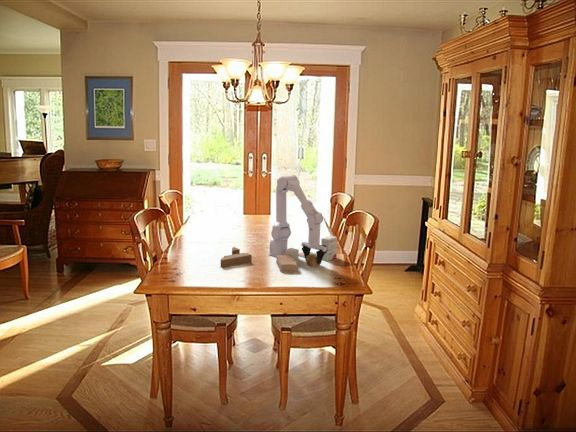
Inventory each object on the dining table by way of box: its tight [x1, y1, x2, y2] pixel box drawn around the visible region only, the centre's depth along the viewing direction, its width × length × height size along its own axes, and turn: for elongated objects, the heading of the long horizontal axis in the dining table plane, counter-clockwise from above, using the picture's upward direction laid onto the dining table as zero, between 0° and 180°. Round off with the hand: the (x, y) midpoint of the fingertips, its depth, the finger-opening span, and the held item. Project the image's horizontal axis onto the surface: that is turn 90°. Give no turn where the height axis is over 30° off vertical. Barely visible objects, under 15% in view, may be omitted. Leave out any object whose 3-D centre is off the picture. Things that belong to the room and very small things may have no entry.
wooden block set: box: [220, 246, 253, 268], centre depth 255 cm, size 17×6×18 cm
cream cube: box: [285, 247, 300, 261], centre depth 262 cm, size 5×5×5 cm
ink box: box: [320, 235, 338, 262], centre depth 263 cm, size 9×5×12 cm, turn 141°
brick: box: [275, 254, 298, 273], centre depth 248 cm, size 17×8×5 cm, turn 10°
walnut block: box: [305, 254, 321, 268], centre depth 252 cm, size 5×5×5 cm
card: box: [298, 251, 317, 259], centre depth 270 cm, size 7×10×1 cm
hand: (313, 262), depth 252 cm, fingers open, 7 cm apart
